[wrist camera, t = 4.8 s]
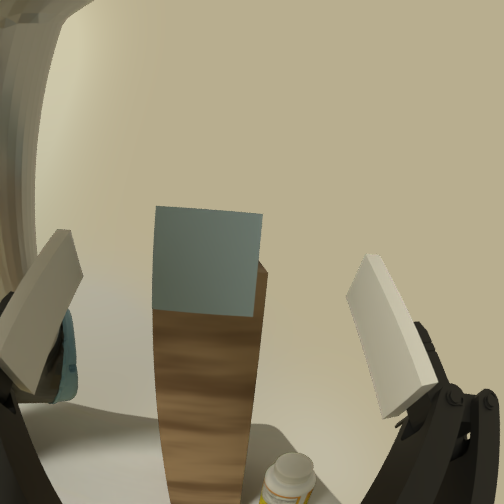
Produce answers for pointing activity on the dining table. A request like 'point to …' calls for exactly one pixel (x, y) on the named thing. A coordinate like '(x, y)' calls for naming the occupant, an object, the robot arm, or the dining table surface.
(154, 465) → the dining table surface
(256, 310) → the walnut stand
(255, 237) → the bar
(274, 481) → the supplement bottle
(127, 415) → the dining table surface
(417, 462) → the robot arm
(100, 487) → the dining table surface
